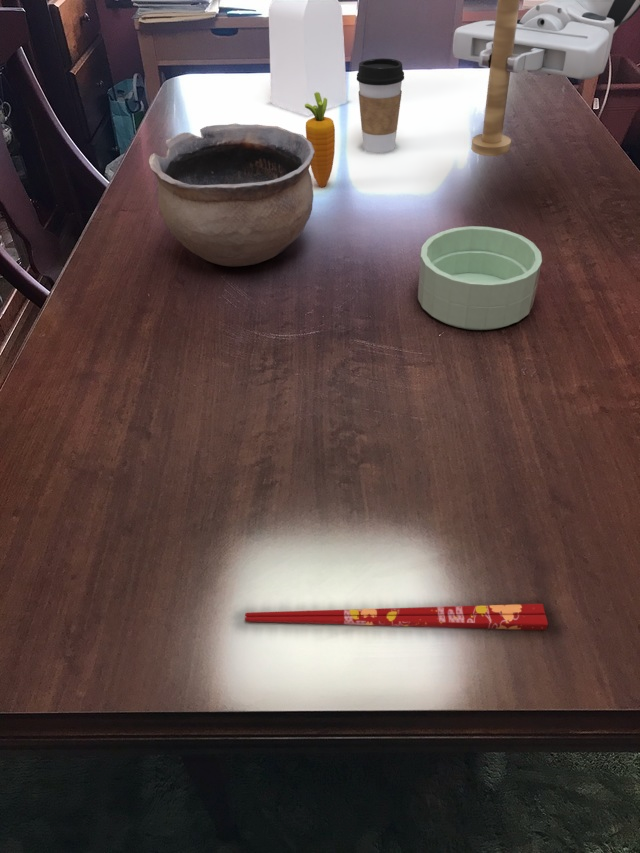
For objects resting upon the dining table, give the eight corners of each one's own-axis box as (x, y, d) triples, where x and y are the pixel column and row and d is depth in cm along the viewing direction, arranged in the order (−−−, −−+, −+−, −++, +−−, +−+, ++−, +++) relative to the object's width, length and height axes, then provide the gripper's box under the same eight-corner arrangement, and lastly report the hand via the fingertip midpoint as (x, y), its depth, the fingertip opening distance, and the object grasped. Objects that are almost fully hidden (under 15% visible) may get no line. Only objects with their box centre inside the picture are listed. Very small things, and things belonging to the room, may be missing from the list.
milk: (271, 105, 150) (260, -37, 133) (310, 92, 156) (304, -46, 138) (308, 117, 143) (301, -30, 126) (347, 103, 149) (346, -40, 131)
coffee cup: (347, 152, 129) (347, 64, 119) (371, 137, 134) (372, 52, 124) (386, 160, 125) (389, 71, 115) (409, 145, 130) (413, 58, 120)
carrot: (331, 195, 115) (329, 100, 105) (303, 192, 116) (298, 98, 106) (340, 183, 119) (338, 90, 108) (313, 180, 120) (309, 88, 110)
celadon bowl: (485, 263, 97) (492, 216, 92) (556, 313, 87) (567, 264, 82) (396, 291, 92) (399, 243, 88) (460, 347, 83) (466, 296, 78)
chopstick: (246, 612, 56) (244, 606, 56) (541, 609, 56) (543, 602, 55) (244, 634, 55) (242, 628, 54) (546, 631, 54) (549, 624, 54)
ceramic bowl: (222, 208, 113) (208, 113, 103) (342, 231, 105) (340, 131, 95) (139, 272, 98) (114, 168, 88) (272, 304, 91) (261, 195, 81)
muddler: (494, 139, 97) (516, -40, 83) (517, 150, 94) (545, -34, 79) (463, 146, 96) (481, -34, 81) (486, 158, 92) (508, -28, 78)
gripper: (485, 3, 97) (430, 24, 90) (627, 20, 87) (578, 46, 79) (480, 52, 102) (427, 76, 94) (615, 74, 91) (567, 103, 84)
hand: (497, 63), depth 87 cm, fingers closed on muddler, 2 cm apart
